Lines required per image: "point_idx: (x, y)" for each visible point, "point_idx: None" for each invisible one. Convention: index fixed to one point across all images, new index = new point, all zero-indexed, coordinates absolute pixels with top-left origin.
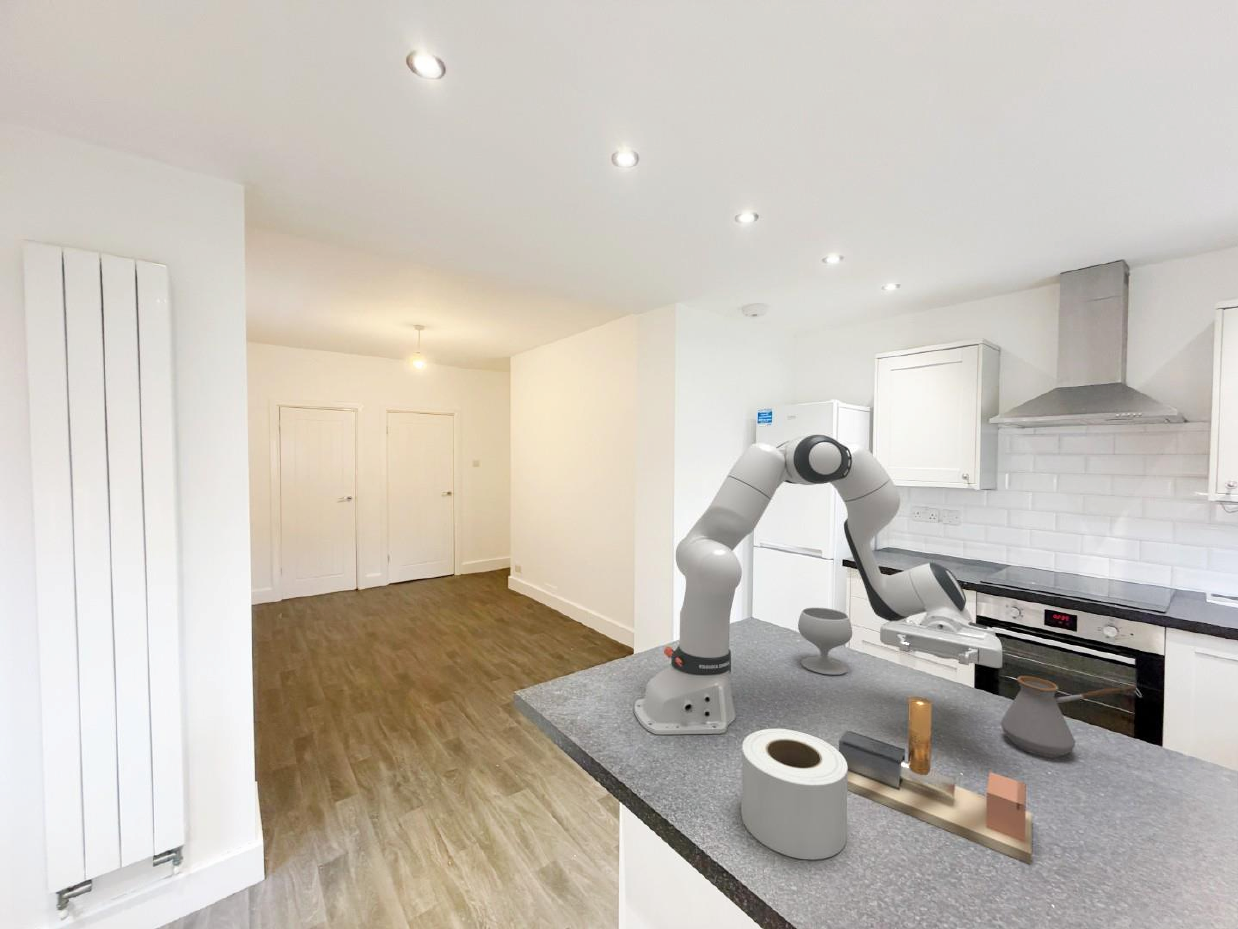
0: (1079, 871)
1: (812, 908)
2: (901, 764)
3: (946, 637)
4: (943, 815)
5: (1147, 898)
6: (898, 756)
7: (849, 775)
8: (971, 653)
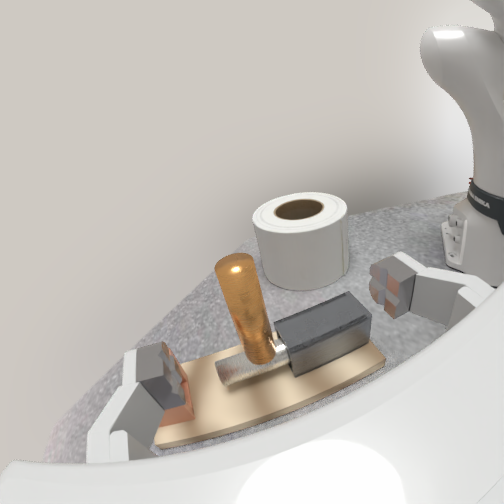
0: None
1: (246, 246)
2: (279, 338)
3: (298, 470)
4: (224, 355)
5: (86, 410)
6: (282, 329)
7: None
8: (113, 394)
